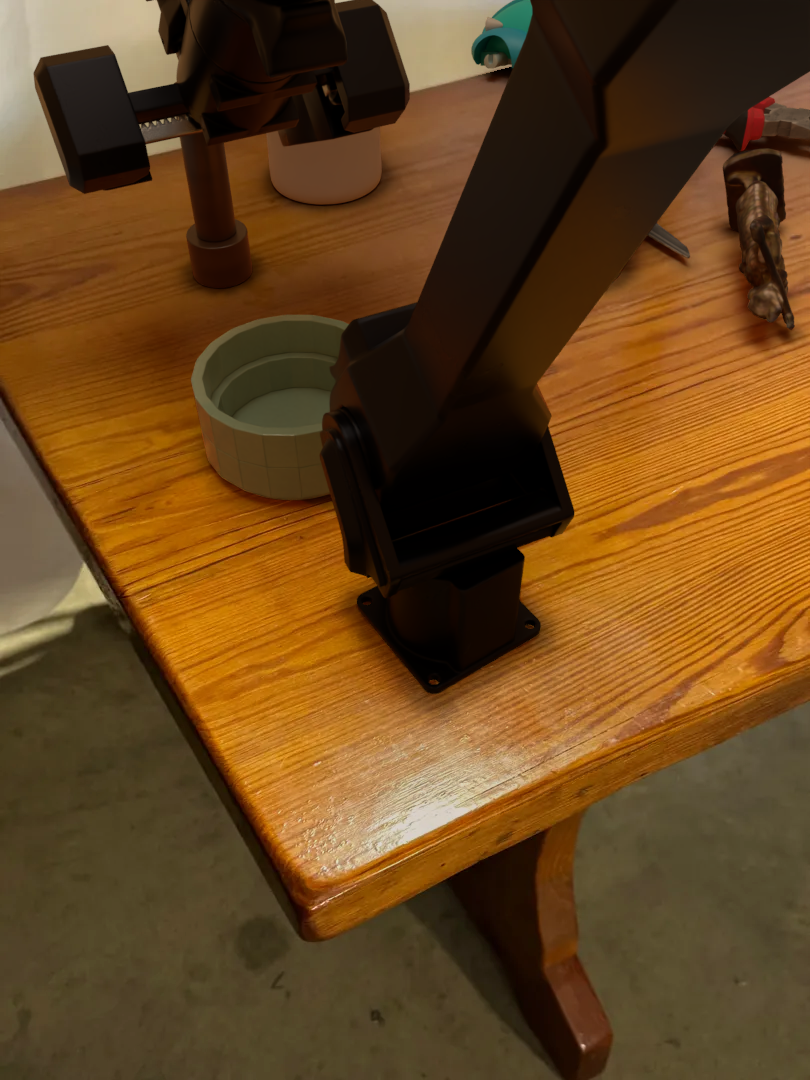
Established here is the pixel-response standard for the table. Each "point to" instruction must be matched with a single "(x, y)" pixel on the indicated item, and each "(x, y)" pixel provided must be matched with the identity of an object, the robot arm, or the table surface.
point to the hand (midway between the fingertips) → (211, 153)
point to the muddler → (213, 217)
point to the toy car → (503, 35)
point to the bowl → (268, 403)
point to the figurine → (760, 228)
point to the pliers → (769, 123)
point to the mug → (326, 167)
